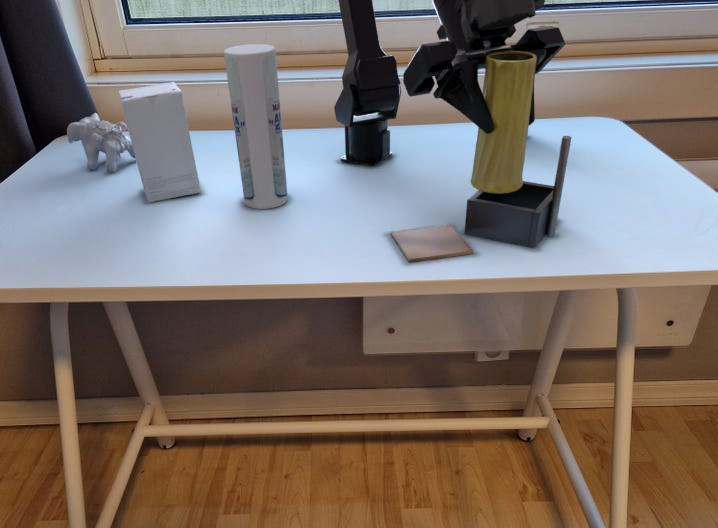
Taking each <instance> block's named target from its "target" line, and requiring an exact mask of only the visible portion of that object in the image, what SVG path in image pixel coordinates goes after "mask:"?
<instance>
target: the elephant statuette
mask: <svg viewBox="0 0 718 528" xmlns="http://www.w3.org/2000/svg"><path fill="white" fill-rule="evenodd" d="M126 130H128V127H127V123H126V122H124V121H121V120H119V121H118V122H116V123H112V122H109V120H104V119H102V120H101V118H100V116H99V114H98V113H96V112H94V113H92V114H91V115H90V116H85V117H84V118H81V119H79V121H74V122H71V123H69V124H68V126H67V128H66V135H67V142H68V143H69V144H70V145H72V144H73V143H75V142H79V141H81V145H82V148H83V150H84V153H85V156H86V159H87V163H86V166H87V168H88V169H90V170H96V169H97V168H98V162H99V161H98V160H99V158H100V157H99V156H100V152H101V153H104V154H105V169H106V171H107V172H109V173H113V172H115V171H116V169H117V167H116V160H117V159H118V157H119V159H122V155H121V154H123V153H125V151H127V152H128V153H129V155H130V157H132V158H133V159H135V160H136V157H135V154H134V150H133V146H132V142H131V139H130V136H128V135H126V134H125V133H124V132H125V131H126Z"/></svg>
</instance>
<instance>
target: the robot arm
mask: <svg viewBox="0 0 718 528" xmlns="http://www.w3.org/2000/svg"><path fill="white" fill-rule="evenodd" d="M431 2H432V5H433V8H434V9H435V12H436V15H437V17H438V20H439V22H440V26H439V28H438V29H437V31H436V35H437V37H438V40H439V41H436V42H430V43H422V44H420V46H419V47H418V48H417V51H415V53H414V55H413V57H412V58H411V60H410V62H409V63H408V65H407V66H406V68H405V70H404V72H403V76H402V77H403V78H402V83H403V85H404V88H405V90H406V93H407V95H408V96H409V97H411V98H412V97H418V96H423V95H428V94H431V92H432V91H433V88H434V86H435V85H437V87H436V89H435V90H434V91H433V93H432V94H433V97H434V99H441V100H442V101H444V102H445V103H447V104H449V105H450V106H451V107H453V108H454V109H456V110H457V111H458V112H459V113H461V114H462V115H464V116H465V117H466V118H467V119H468V120H469V121H471V122H472V123H473V124H475V126H477V127H478V128H480V129H481V130H483V131H484V132H485V133H486V134H490V133H491V132H492V131H493V130H494V125H493V121H492V118H491V114H490V112H489V109H488V107H487V104H486V101H485V99H484V96H483V90H482V88H481V86H480V84H479V70H485V63H486V57H487V55H488V54H490V53H494V52H500V51H522V52H528V53H533V54H535V55H536V57H537V60H536V67H535V74H534V81H533V90H532V99H531V108H530V116H529V125H528V126H531V125H532V124H534V122H535V120H536V113H535V111H536V110H535V77H536V75H537V74H539V73H541V72H542V70H543V69H544V68H545V67H546V66H547V65H548V64H549V63H550V62H551V60H553V59H554V58H555V56H557V55H558V53H559V52H560V51H561V50H562V49H563V48H564V47H565V46H566V42H565V38H564V37H563V34H562V32H561V29H560V27H558V26H553V25H547V26H541V27H534V28H528V29H527V30H526V31H525V32H524V33H523V34H522V36H521V37H520V38H519V39H518V40H517V42H516V43H515V44H507V42H506V40H507V39H509V38H512V37H513V35H514V34H515V33H516V31H517V29H516V24H518V23H521V22H522V21H524V20H526V19H527V18H529V19H530V18H531V19H532V18H534V17H535V16H536V15H537V14H536V11H538V10H540V9H542V8H543V7H544V5H545V3H546V0H431ZM338 6H339V11H340V17H341V23H342V28H343V33H344V38H345V44H346V49H347V60H346V63H345V66H344V69H343V72H342V76H341V81H342V90H341V92H340V94H339V96H338V99H337V101H336V102H335V104H334V107H333V109H334V116H335V120H336V122H338V123H340V124H341V125H344V148H345V149H344V150H345V154H343V155H342V156H341V157H340V158H339V159H340V161H341V162H344V163H351V164H356V165H363V166H369V167H376V166H377V165H379V164H380V163H382V162H384V161H385V160H387V159H388V158H390V157H392V156H393V152H392V151H391V130H390V129H388V128H389V125H388V124H389V120H396V119H397V113H398V110H399V105H400V101H401V95H402V88H401V80H400V77H399V73H398V63H397V62H398V61H397V60H396V58H395V56H394V55H388V54H386V53H385V51H384V50H383V48H382V47H381V43H380V37H379V32H378V26H377V21H376V13H375V8H374V2H373V0H338ZM440 40H443V41H440ZM434 79H435V80H436V83H435V80H434Z"/></svg>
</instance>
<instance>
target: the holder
mask: <svg viewBox="0 0 718 528" xmlns="http://www.w3.org/2000/svg"><path fill="white" fill-rule="evenodd" d="M571 142H572V136H571V135H562V137H561V142H560V148H559V154H558V160H557V167H556V172H555V178H554V185H550V184H543V183H538V182H532V181H525V180H523V185H522V187H521V188H520V189H519V190H517V191H514V192H511V193H500V194H498V193H488V192H483V191H480V190H478V189H477V190H476V192H475V193H473V194H472V195H471V196H470V197H469V198H467V200H466V211H465V220H464V221H465V222H464V235H468V236H473V237H477V238H478V237H479V238H482V239H486V240H493V241H498V242H502V243H506V244H512V245H516V246H521V247H526V248H531V249H536V247H537V246H538V245H539V243H540V242H541V241H542V240H543V239H544V238H545V236H547V237H551V238H552V237H554V236H555V234H556V229H557V222H558V219H559V218H558V217H559V212H560V207H561V200H562V196H563V195H562V194H563V188H564V182H565V179H566V178H565V177H566V171H567V167H568V166H567V165H568V161H569V160H568V159H569V154H570V148H571Z"/></svg>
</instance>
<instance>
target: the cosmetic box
mask: <svg viewBox="0 0 718 528" xmlns="http://www.w3.org/2000/svg"><path fill="white" fill-rule="evenodd" d="M118 96H119V99H120V104H121V107H122V112H123V116H124V120H125V124H126V125H127V131H128V135H129V138H130V139H131V142H132V146H133V150H134V154H135V157H136V159H135V161H136V164H137V165H136V166H137V168H138V169H137V170H138V173H139V176H140V180H141V184H142V188H143V191H144V194H145V198H146V200H147V203H153V202H159V201H164V200H169V199H174V198H179V197H184V196H190V195H191V196H192V195H195V194H200V193H202V188H201V185H200V184H201V183H200V178H199V174H198V169H197V165H196V159H195V153H194V149H193V144H192V138H191V133H190V128H189V124H188V118H187V113H186V108H185V104H184V97H183V92H182V90H181V89H180V88H179V87H178V85H177V84H176V82H175V81H170V82H164V83H159V84H153V85H146V86H141V87H135V88H128V89H127V88H126V89H121V90H118Z"/></svg>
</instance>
